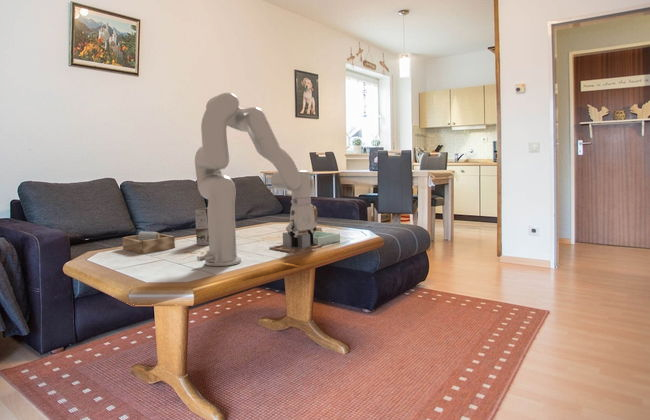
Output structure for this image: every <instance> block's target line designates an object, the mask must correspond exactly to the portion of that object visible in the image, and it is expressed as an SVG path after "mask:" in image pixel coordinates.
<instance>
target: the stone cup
mask: <svg viewBox="0 0 650 420" xmlns="http://www.w3.org/2000/svg"><path fill="white" fill-rule="evenodd" d="M311 205H312V206H313V210H314V217H315V222H317V219H318V218H317V217H318V209H317V206H315V205H313V204H311ZM315 231H321V232H324V231H323V229H322V227H321V226H320V227H318V226H317V227H316V230H315ZM300 233H308V232H307V231H299V232H298V234H300Z"/></svg>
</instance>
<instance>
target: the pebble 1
mask: <svg viewBox="0 0 650 420" xmlns="http://www.w3.org/2000/svg"><path fill="white" fill-rule="evenodd" d="M294 234H295V232H294ZM282 245H283V247H285V248H294V247H292V239H291V237H290V235H289V234H288V232H287V231H284V232H282Z"/></svg>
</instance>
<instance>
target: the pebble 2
mask: <svg viewBox="0 0 650 420" xmlns="http://www.w3.org/2000/svg"><path fill="white" fill-rule="evenodd" d="M297 237H298V247H297V248H296V247H295V249H297V250H299V249H304V248H308V247H310V234H306V233H300V234H298V235H297Z"/></svg>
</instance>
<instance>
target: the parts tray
mask: <svg viewBox="0 0 650 420" xmlns="http://www.w3.org/2000/svg"><path fill="white" fill-rule="evenodd" d="M322 247H323V245H318V244H310V247H308V248H304V249H299V250H297V249H295V247H294V248H285V247H283V244H279V245H273V246H269V248H268V249H269V250H271V251H276V252H283V253H289V254H299V253H301V252H305V251H310V250H311V251H312V250H314V249H315V250H316V249H319V248H322Z"/></svg>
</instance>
